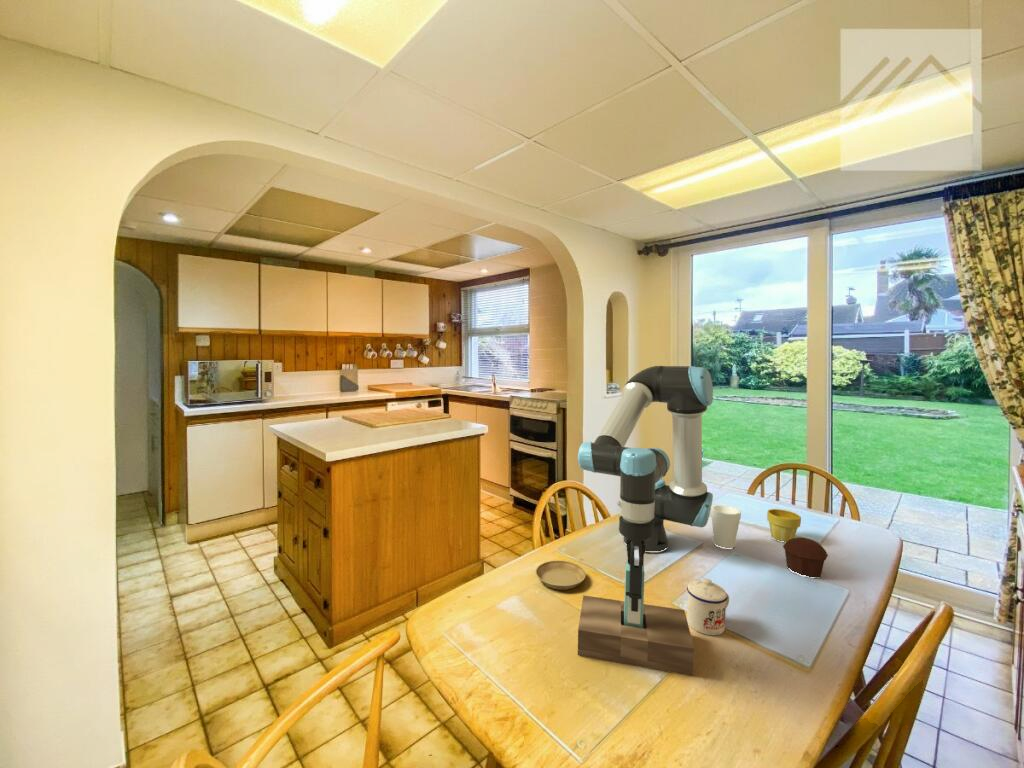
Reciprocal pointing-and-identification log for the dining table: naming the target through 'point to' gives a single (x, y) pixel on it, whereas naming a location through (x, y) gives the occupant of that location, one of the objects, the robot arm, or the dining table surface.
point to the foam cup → (725, 525)
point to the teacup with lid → (706, 607)
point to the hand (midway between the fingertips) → (633, 615)
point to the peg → (627, 578)
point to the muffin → (805, 556)
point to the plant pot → (783, 524)
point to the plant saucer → (560, 574)
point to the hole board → (636, 636)
